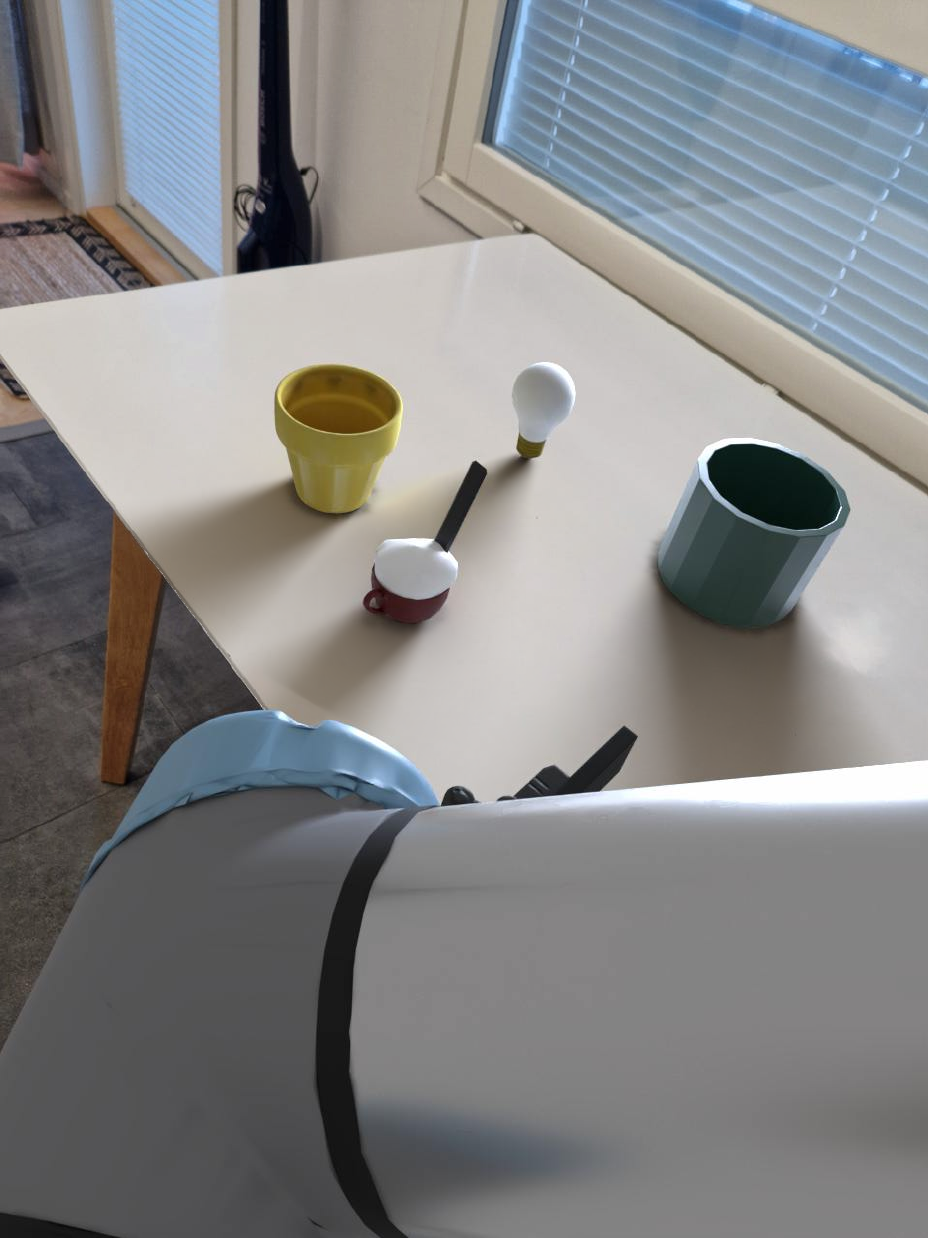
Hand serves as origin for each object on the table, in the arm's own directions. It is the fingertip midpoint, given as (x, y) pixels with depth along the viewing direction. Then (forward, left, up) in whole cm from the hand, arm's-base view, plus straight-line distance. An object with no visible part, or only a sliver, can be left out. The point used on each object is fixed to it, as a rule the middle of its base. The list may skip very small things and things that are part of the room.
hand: (756, 854), depth 35 cm
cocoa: (+33, -9, -20) cm, 40 cm away
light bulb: (+44, -31, -20) cm, 57 cm away
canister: (+22, -36, -20) cm, 47 cm away
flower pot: (+48, -11, -20) cm, 53 cm away
